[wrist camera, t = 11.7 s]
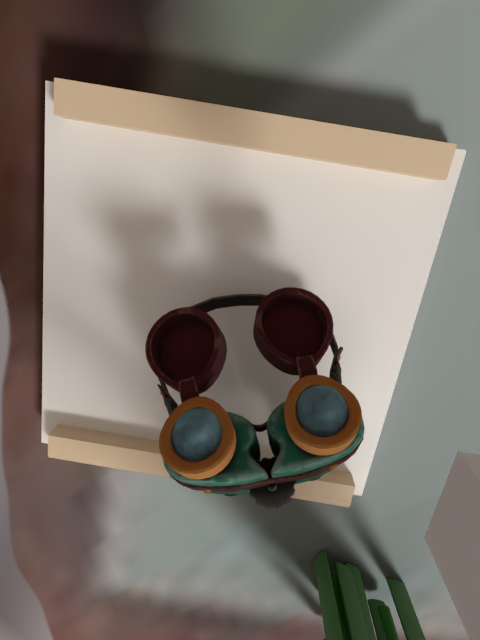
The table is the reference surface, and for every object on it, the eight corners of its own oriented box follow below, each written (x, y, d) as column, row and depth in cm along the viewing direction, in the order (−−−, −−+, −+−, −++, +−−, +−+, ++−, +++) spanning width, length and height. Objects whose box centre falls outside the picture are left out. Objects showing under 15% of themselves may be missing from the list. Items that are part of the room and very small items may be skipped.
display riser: (60, 87, 21) (31, 73, 18) (452, 153, 21) (479, 147, 18) (53, 429, 27) (31, 454, 24) (356, 479, 27) (366, 510, 24)
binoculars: (181, 362, 27) (198, 530, 22) (127, 269, 18) (136, 520, 13) (314, 337, 27) (360, 499, 22) (329, 230, 18) (412, 468, 13)
